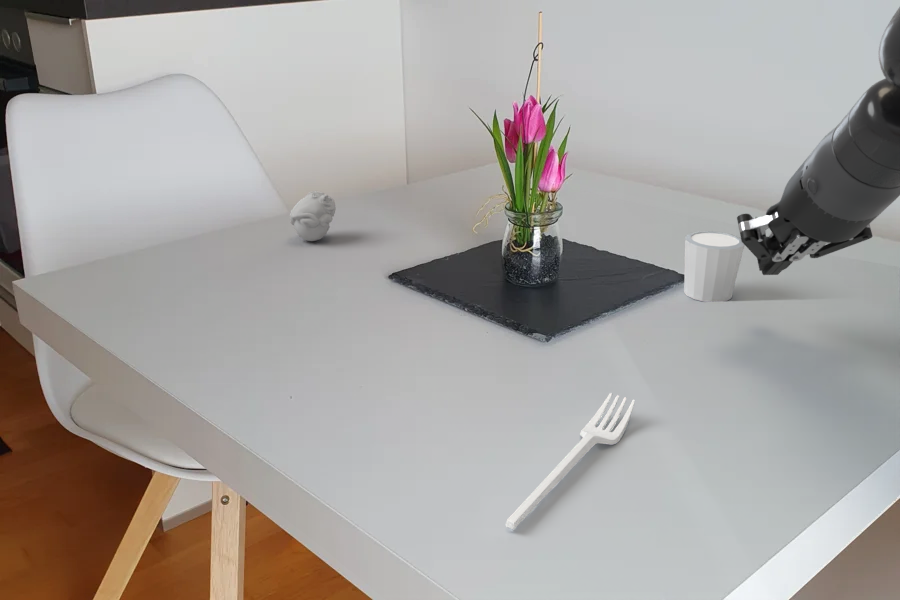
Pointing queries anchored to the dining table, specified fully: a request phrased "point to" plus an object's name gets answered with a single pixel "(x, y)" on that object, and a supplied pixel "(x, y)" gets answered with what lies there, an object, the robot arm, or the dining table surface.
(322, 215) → the frog figurine
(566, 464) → the fork
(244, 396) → the dining table surface
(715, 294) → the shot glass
